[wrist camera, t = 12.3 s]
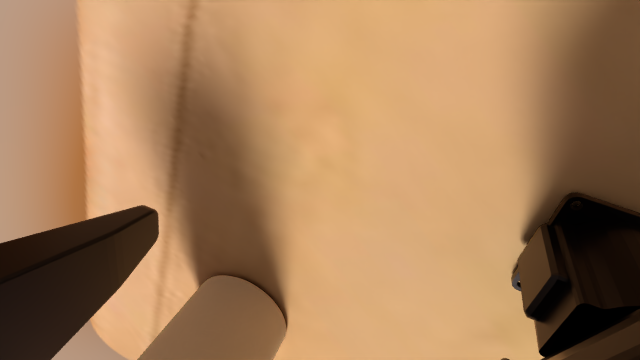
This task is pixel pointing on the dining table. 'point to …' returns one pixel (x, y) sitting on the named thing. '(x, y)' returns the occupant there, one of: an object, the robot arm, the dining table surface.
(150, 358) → the travel mug
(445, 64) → the dining table surface
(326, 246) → the dining table surface
